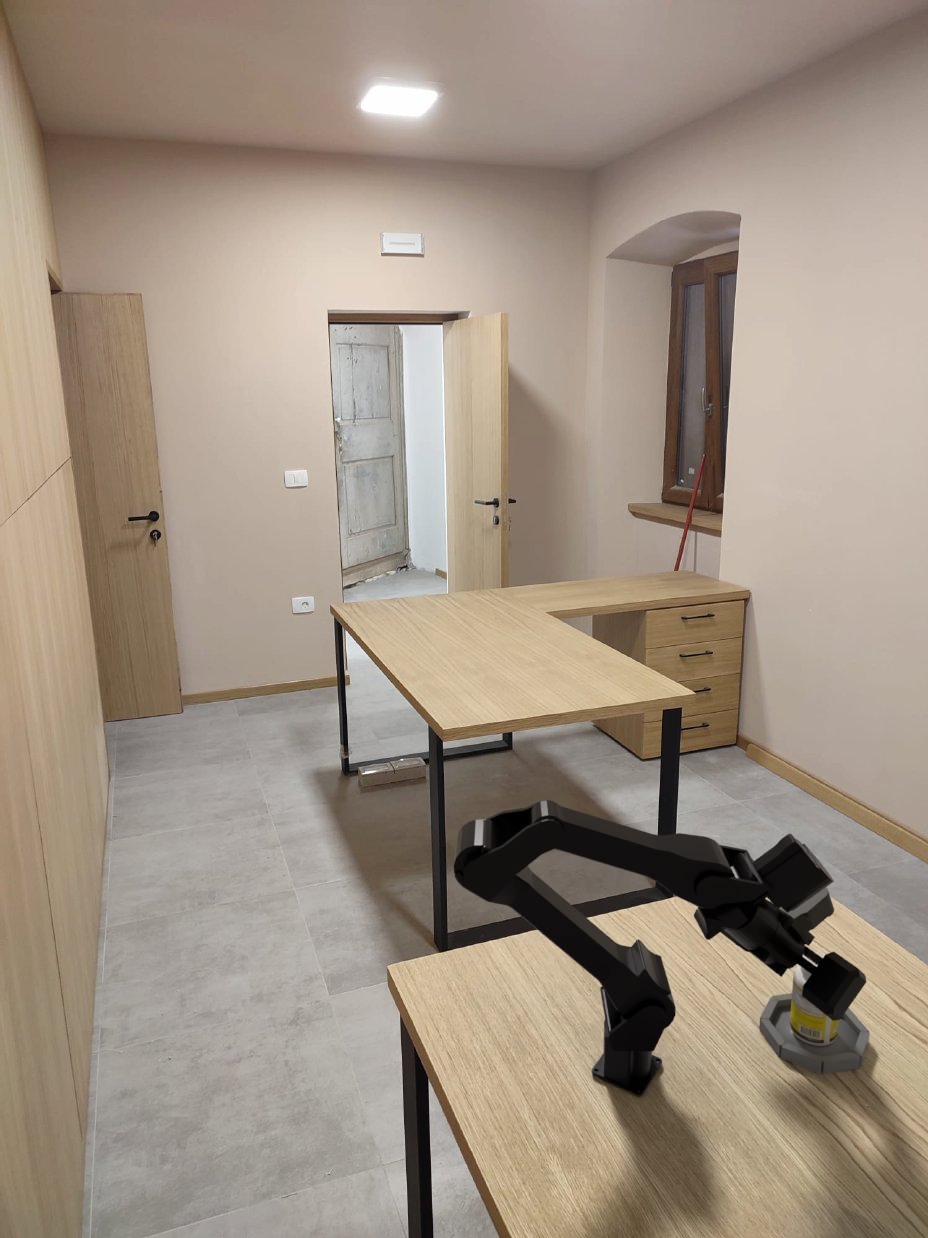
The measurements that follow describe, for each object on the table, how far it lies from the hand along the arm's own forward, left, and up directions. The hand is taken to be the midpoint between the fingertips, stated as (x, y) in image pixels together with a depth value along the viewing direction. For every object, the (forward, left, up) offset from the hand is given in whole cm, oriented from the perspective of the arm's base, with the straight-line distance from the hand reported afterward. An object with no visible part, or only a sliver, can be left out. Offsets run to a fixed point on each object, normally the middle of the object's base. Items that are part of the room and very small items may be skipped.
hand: (817, 978), depth 107 cm
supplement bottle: (0, 0, -8) cm, 8 cm away
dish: (0, 0, -8) cm, 8 cm away
